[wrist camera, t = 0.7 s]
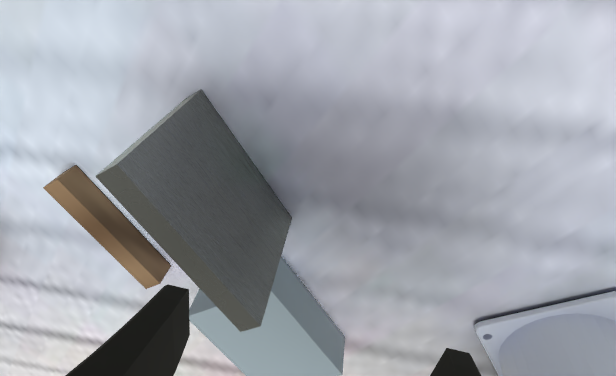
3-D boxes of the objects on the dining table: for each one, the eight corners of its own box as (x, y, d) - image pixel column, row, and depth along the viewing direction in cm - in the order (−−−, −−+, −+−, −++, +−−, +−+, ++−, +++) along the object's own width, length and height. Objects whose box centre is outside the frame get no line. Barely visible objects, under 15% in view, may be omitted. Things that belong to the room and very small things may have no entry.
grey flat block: (291, 218, 21) (260, 326, 15) (276, 224, 21) (240, 332, 15) (201, 89, 18) (116, 164, 12) (184, 99, 18) (95, 176, 12)
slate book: (345, 333, 26) (342, 374, 24) (272, 351, 28) (262, 392, 26) (280, 250, 23) (269, 288, 20) (204, 279, 25) (185, 317, 23)
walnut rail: (170, 265, 24) (159, 283, 23) (157, 271, 25) (146, 288, 24) (76, 164, 21) (57, 179, 20) (62, 173, 21) (43, 187, 20)
